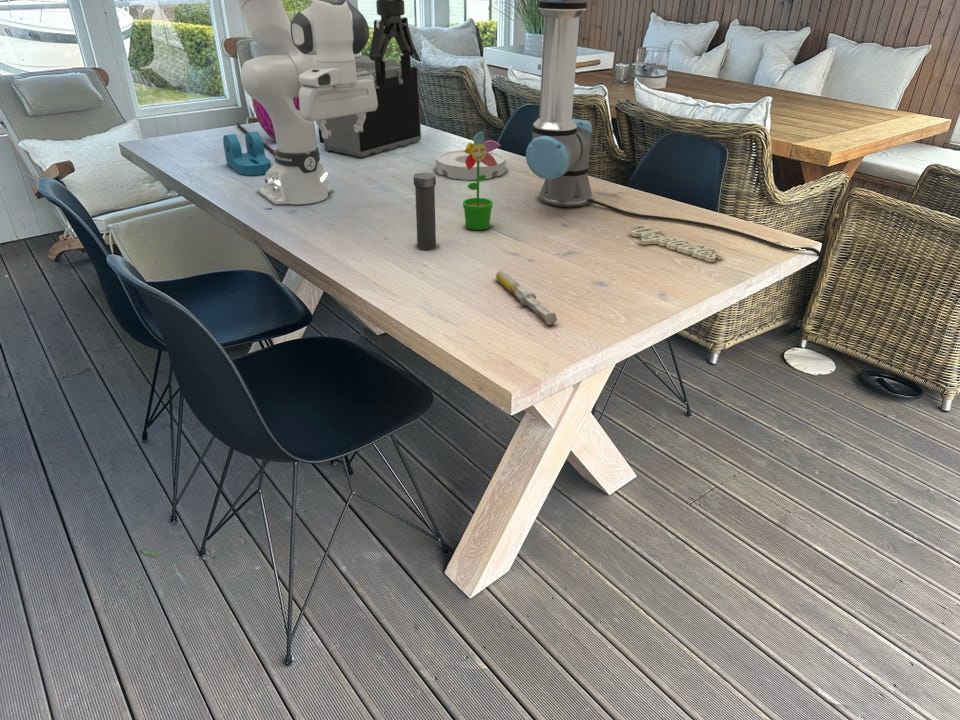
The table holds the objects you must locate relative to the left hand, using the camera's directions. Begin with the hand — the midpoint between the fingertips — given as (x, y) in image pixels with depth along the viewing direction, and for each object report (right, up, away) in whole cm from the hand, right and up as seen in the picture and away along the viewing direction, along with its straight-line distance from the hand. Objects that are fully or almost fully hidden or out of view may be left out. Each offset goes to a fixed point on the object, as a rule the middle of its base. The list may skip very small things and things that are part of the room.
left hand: (343, 135), depth 166 cm
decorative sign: (+81, -26, +6) cm, 85 cm away
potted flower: (+33, -19, +16) cm, 41 cm away
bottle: (+20, -26, +4) cm, 33 cm away
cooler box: (-8, +26, +92) cm, 96 cm away
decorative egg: (-42, +30, +98) cm, 111 cm away
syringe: (+43, -42, -23) cm, 64 cm away
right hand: (+9, +24, +29) cm, 39 cm away
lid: (+20, -12, -5) cm, 24 cm away
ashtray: (+30, +9, +64) cm, 71 cm away
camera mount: (-43, +9, +63) cm, 77 cm away
